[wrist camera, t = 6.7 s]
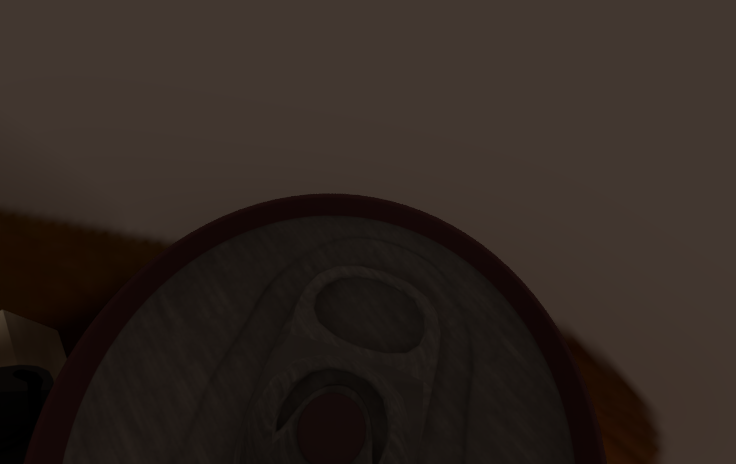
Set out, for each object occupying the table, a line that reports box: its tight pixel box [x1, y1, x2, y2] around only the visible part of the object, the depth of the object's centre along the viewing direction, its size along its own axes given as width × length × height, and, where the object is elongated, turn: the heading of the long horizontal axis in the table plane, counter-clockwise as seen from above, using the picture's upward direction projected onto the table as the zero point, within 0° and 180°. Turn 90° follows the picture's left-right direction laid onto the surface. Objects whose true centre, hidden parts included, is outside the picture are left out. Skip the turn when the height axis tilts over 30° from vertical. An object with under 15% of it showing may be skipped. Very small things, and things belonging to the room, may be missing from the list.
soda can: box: [23, 194, 607, 464], centre depth 9 cm, size 7×7×12 cm
